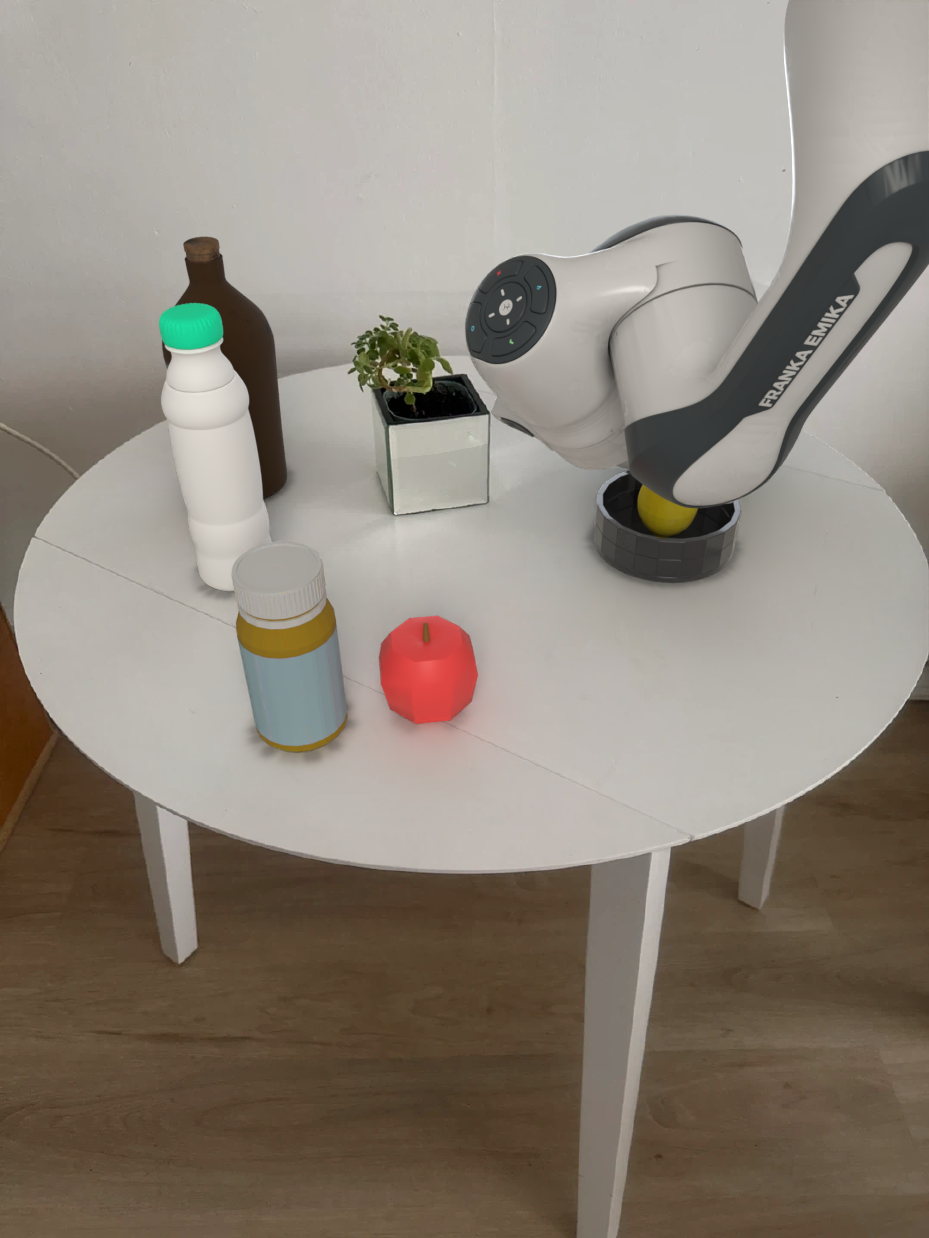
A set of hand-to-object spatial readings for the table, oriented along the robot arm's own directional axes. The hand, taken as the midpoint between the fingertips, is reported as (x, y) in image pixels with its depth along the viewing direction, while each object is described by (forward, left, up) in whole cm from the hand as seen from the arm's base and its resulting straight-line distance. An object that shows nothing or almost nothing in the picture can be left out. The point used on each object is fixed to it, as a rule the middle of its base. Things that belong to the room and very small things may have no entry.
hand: (651, 469), depth 87 cm
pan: (-1, -4, -10) cm, 11 cm away
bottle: (+18, +31, -10) cm, 37 cm away
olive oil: (+43, +2, -10) cm, 44 cm away
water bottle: (+34, +16, -10) cm, 39 cm away
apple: (+10, +25, -10) cm, 29 cm away
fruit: (-1, -4, -10) cm, 10 cm away
